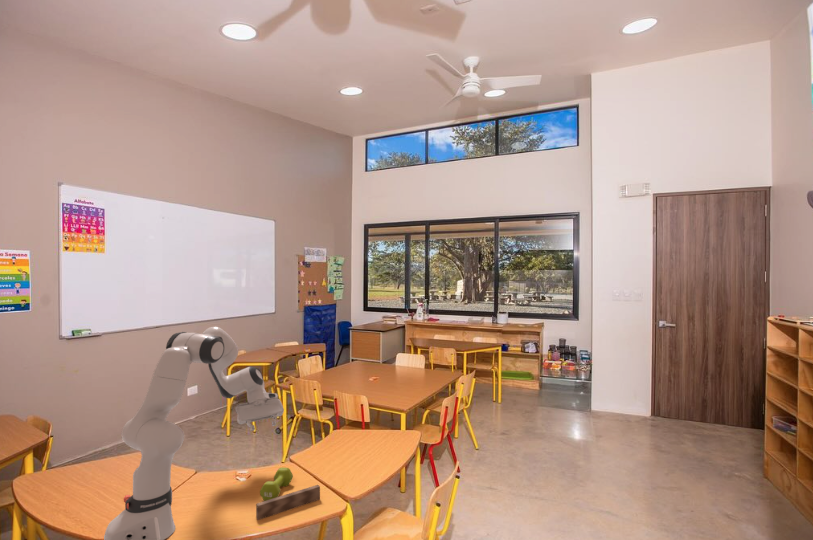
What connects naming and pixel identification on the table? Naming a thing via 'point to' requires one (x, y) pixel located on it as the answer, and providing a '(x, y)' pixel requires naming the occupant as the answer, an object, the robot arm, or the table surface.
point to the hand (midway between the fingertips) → (263, 427)
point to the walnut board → (287, 502)
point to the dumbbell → (276, 484)
